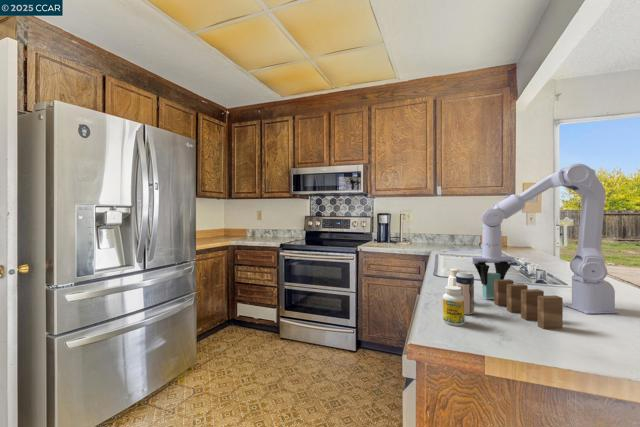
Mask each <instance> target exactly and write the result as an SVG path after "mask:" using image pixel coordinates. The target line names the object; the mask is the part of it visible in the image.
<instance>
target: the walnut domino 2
mask: <svg viewBox="0 0 640 427" xmlns="http://www.w3.org/2000/svg"><path fill="white" fill-rule="evenodd" d="M521 290H529V289H528V285H526V284H525V283H524V284H523V283H513V284H507V306H506V311H507V312H509V313H511V314H519V313H520V314H521Z"/></svg>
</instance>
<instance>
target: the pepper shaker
mask: <svg viewBox="0 0 640 427" xmlns="http://www.w3.org/2000/svg"><path fill="white" fill-rule="evenodd" d="M449 271H450V273H449V274H450V275H449V276H448V278H447V279H448V280H447V286H456V274H457V272H459V271H460V269H458V268H450V269H449Z"/></svg>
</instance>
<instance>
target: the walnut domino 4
mask: <svg viewBox="0 0 640 427" xmlns="http://www.w3.org/2000/svg"><path fill="white" fill-rule="evenodd" d="M563 300H564V299H563V297H561V296H558V295H555V294H554V295H544V296H538V320H537V327H539V328H540V329H542V330H563V324H564V323H563V321H564V320H563V318H564V317H563V315H564V314H563V308H564V307H563V305H564V304H563V303H564V302H563Z"/></svg>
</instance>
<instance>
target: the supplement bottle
mask: <svg viewBox="0 0 640 427" xmlns="http://www.w3.org/2000/svg"><path fill="white" fill-rule="evenodd" d="M444 291H445V293H444V294H443V295H442V320H443V322H444V323H445V324H447V325H451V326H455V327H457V326H458V327H459V326H464V325H465V321H466V320H465V315H464V297H463V296H462V295H460V294H461V288H460V287H457V286H448V285H446V286H445V287H444Z"/></svg>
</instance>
